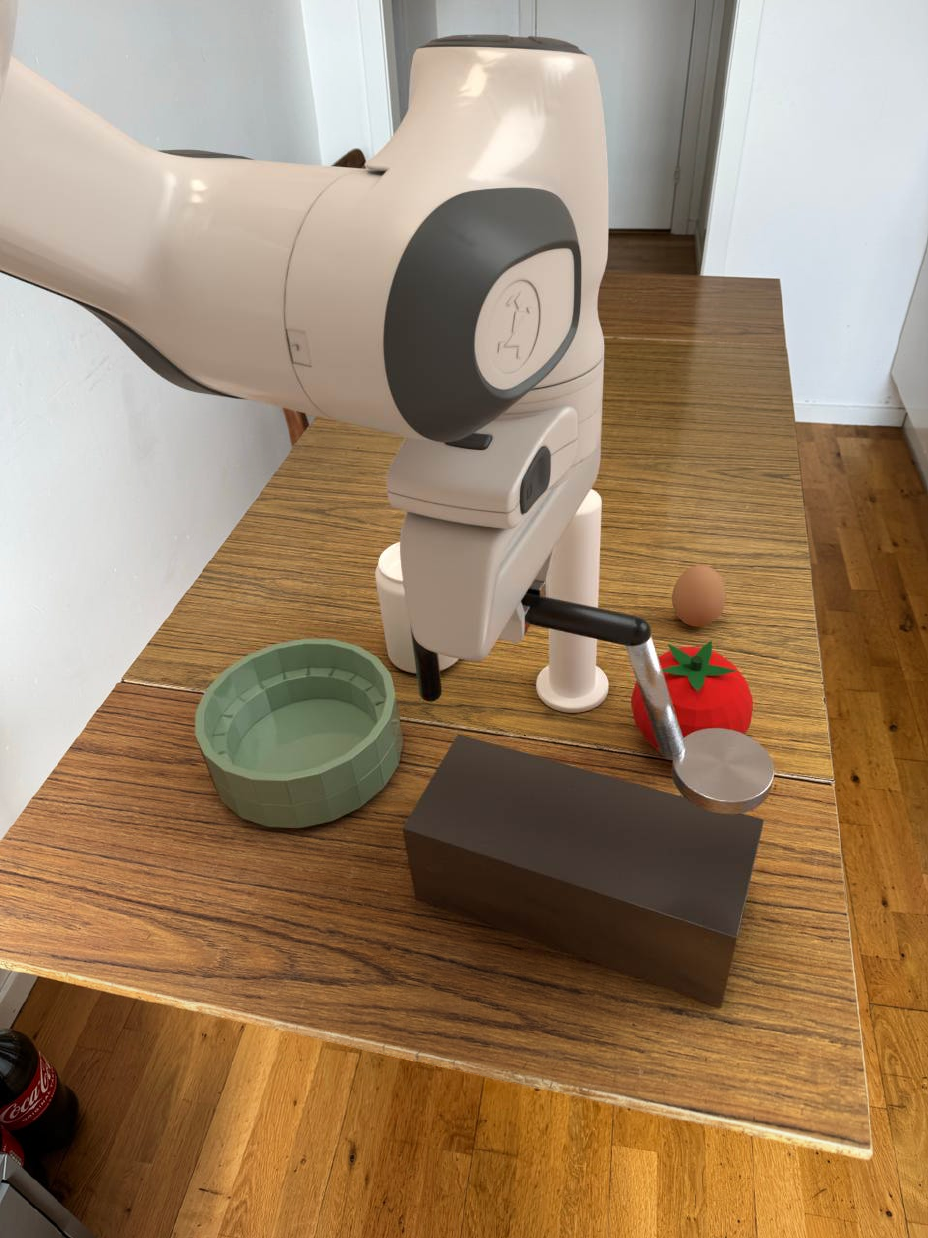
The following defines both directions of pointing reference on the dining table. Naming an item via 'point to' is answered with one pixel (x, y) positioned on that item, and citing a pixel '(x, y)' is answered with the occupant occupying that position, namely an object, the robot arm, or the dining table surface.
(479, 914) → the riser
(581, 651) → the candle
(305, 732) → the bowl
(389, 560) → the beverage can
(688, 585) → the egg
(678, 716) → the tomato
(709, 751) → the black and silver ladle
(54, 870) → the dining table surface
